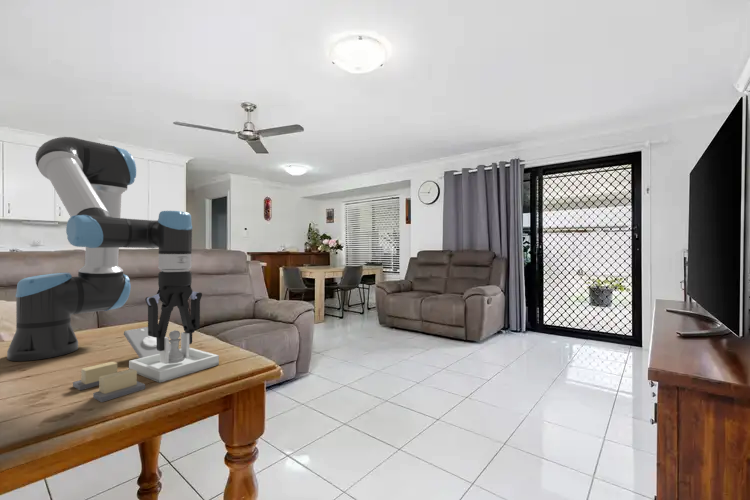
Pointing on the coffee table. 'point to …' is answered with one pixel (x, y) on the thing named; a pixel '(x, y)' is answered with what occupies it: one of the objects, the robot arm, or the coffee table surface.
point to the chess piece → (175, 348)
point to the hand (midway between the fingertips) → (174, 359)
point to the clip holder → (109, 381)
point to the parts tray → (173, 365)
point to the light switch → (142, 342)
